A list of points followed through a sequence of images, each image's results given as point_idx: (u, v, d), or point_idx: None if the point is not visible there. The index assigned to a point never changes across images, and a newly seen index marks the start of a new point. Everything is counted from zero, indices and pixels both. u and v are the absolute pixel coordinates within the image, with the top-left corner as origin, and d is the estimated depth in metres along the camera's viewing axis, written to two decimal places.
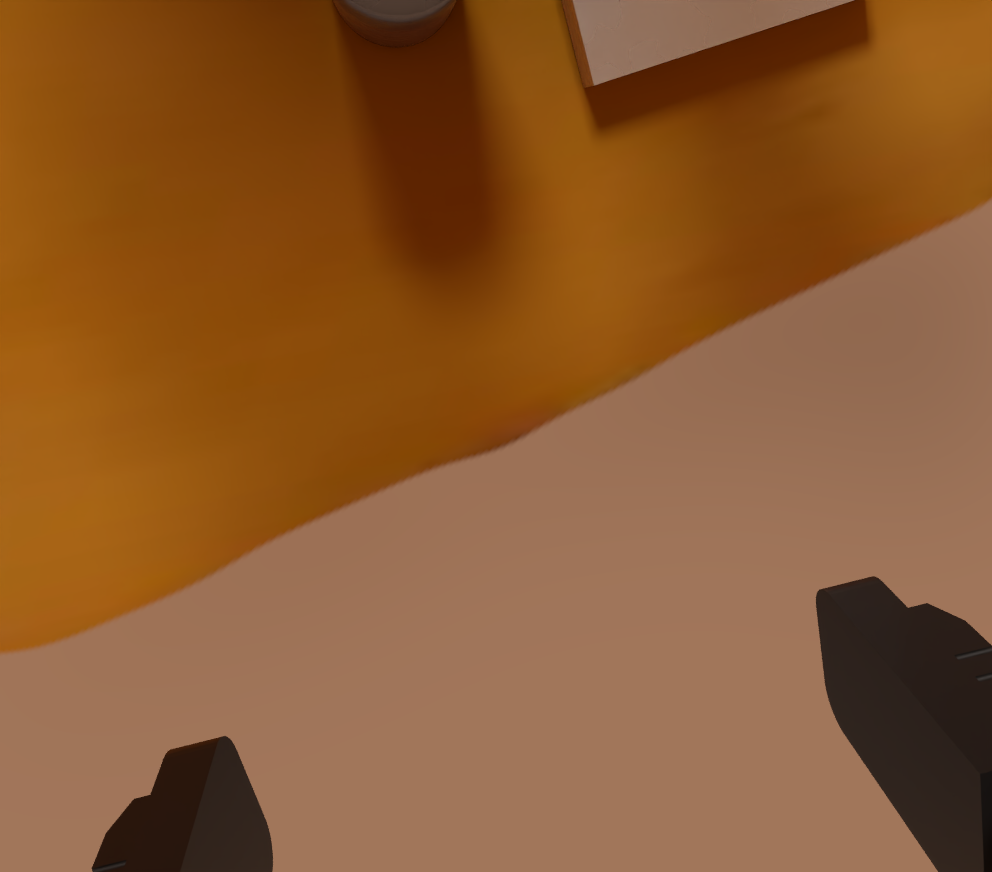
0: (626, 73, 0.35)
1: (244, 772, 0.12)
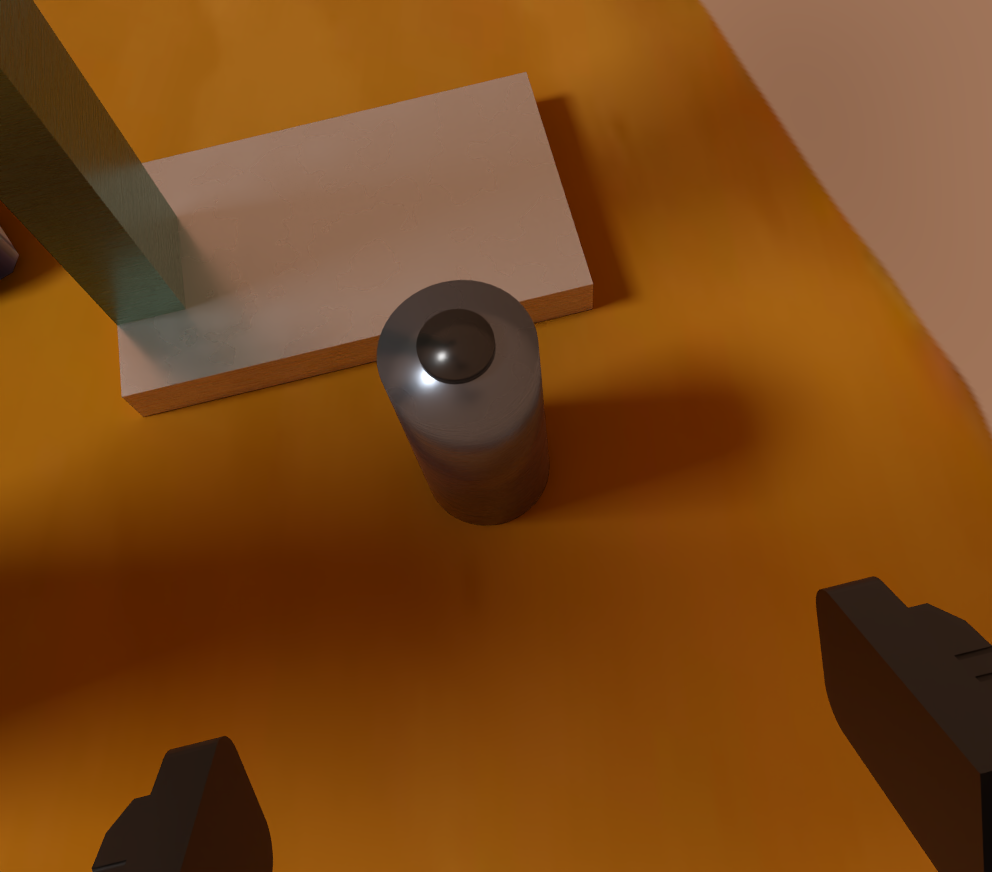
0: (583, 258, 0.38)
1: (244, 772, 0.12)
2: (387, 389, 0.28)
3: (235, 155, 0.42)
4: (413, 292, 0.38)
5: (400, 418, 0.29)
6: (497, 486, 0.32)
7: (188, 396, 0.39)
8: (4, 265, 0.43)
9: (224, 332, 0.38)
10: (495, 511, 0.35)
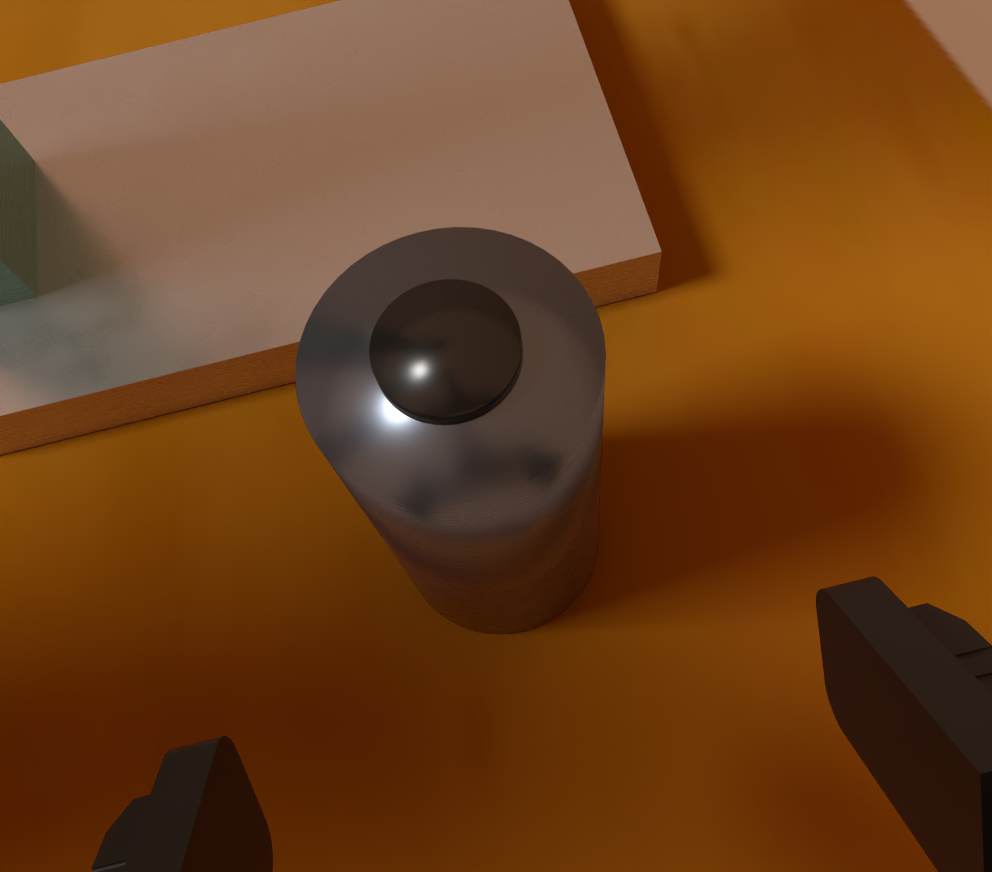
0: (645, 212, 0.25)
1: (244, 772, 0.12)
2: (314, 435, 0.14)
3: (124, 73, 0.29)
4: None
5: (345, 485, 0.16)
6: (521, 588, 0.19)
7: (40, 430, 0.25)
8: None
9: (94, 331, 0.25)
10: (515, 618, 0.21)
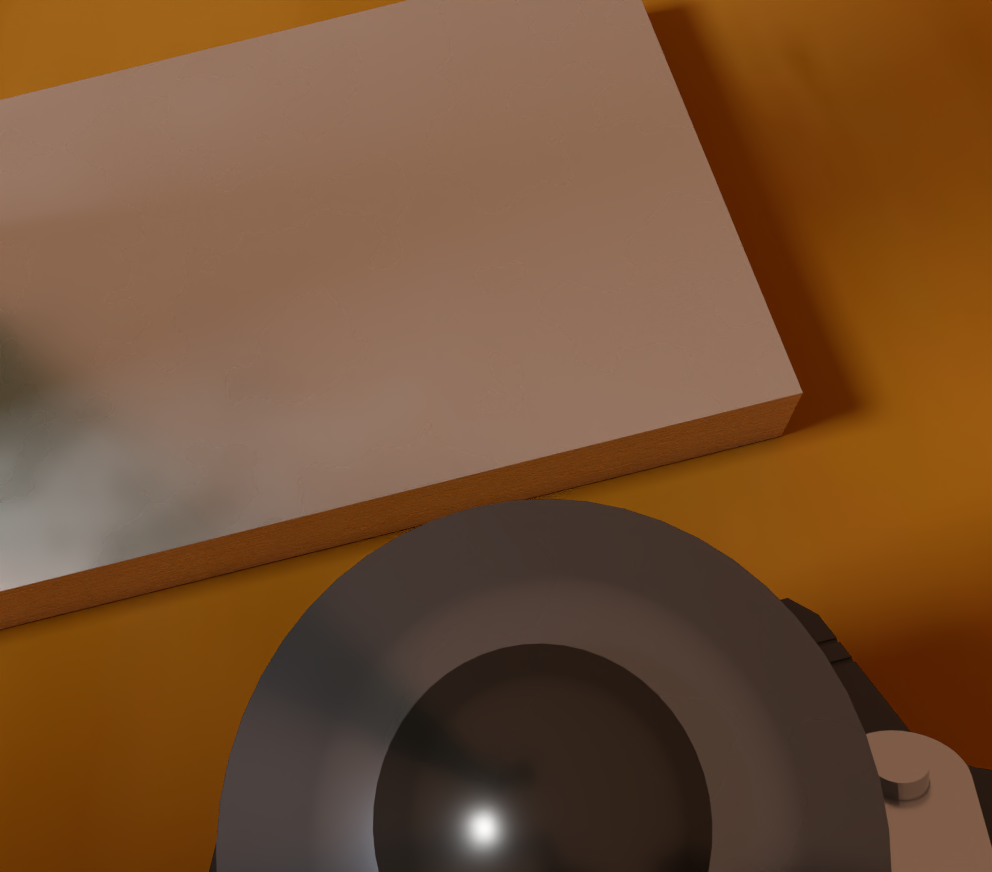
0: (775, 331, 0.17)
1: None
2: None
3: (38, 118, 0.21)
4: (394, 410, 0.17)
5: None
6: None
7: None
8: None
9: None
10: None
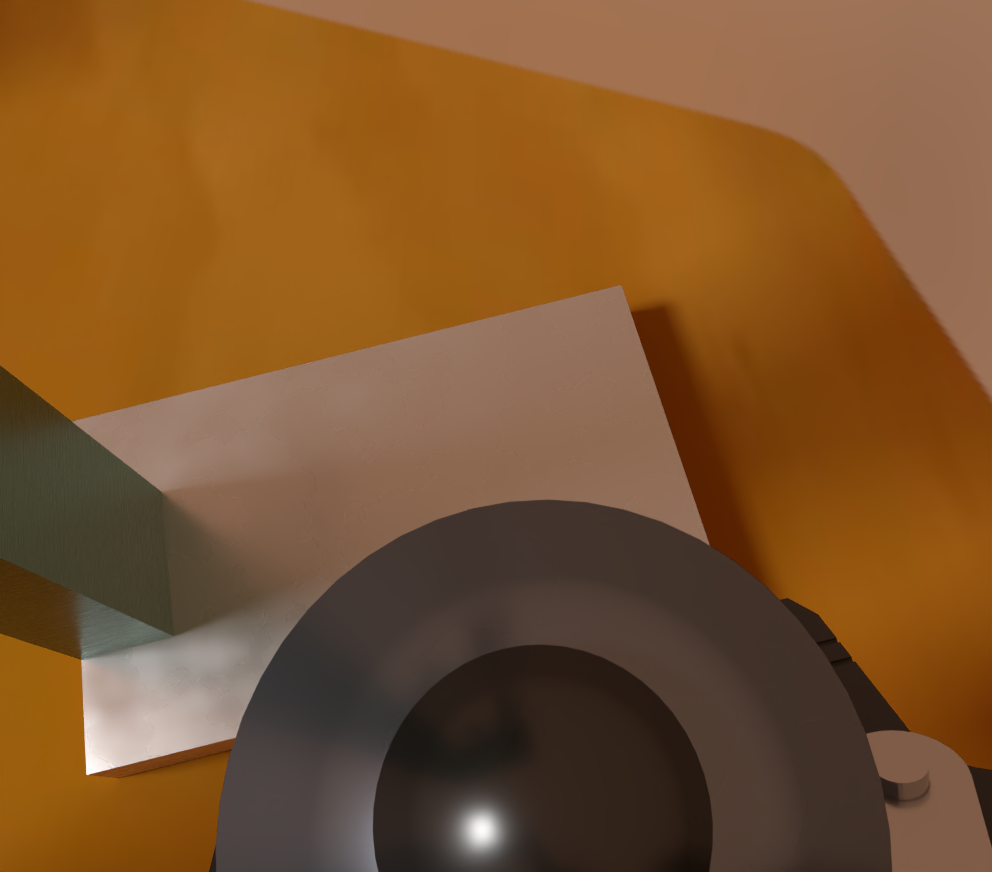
0: None
1: None
2: None
3: (238, 402, 0.32)
4: None
5: None
6: None
7: (178, 759, 0.29)
8: None
9: (226, 674, 0.28)
10: None
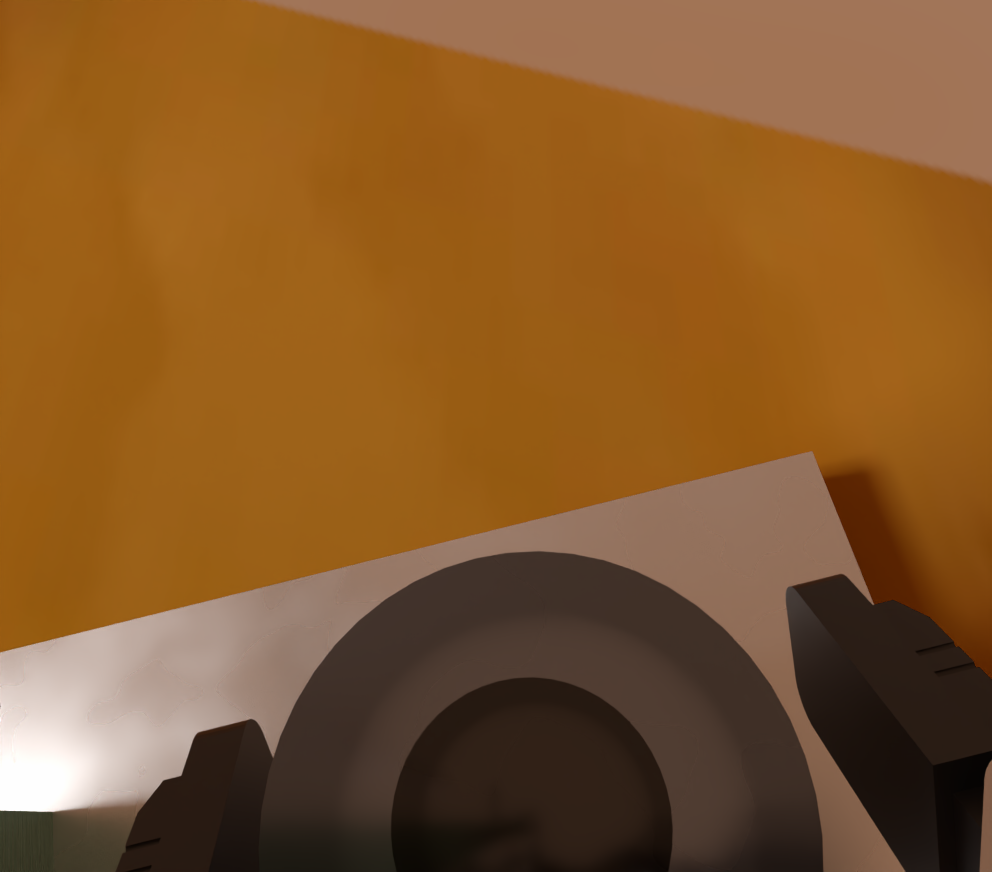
0: None
1: (270, 754, 0.12)
2: None
3: (185, 647, 0.19)
4: None
5: None
6: None
7: None
8: None
9: None
10: None
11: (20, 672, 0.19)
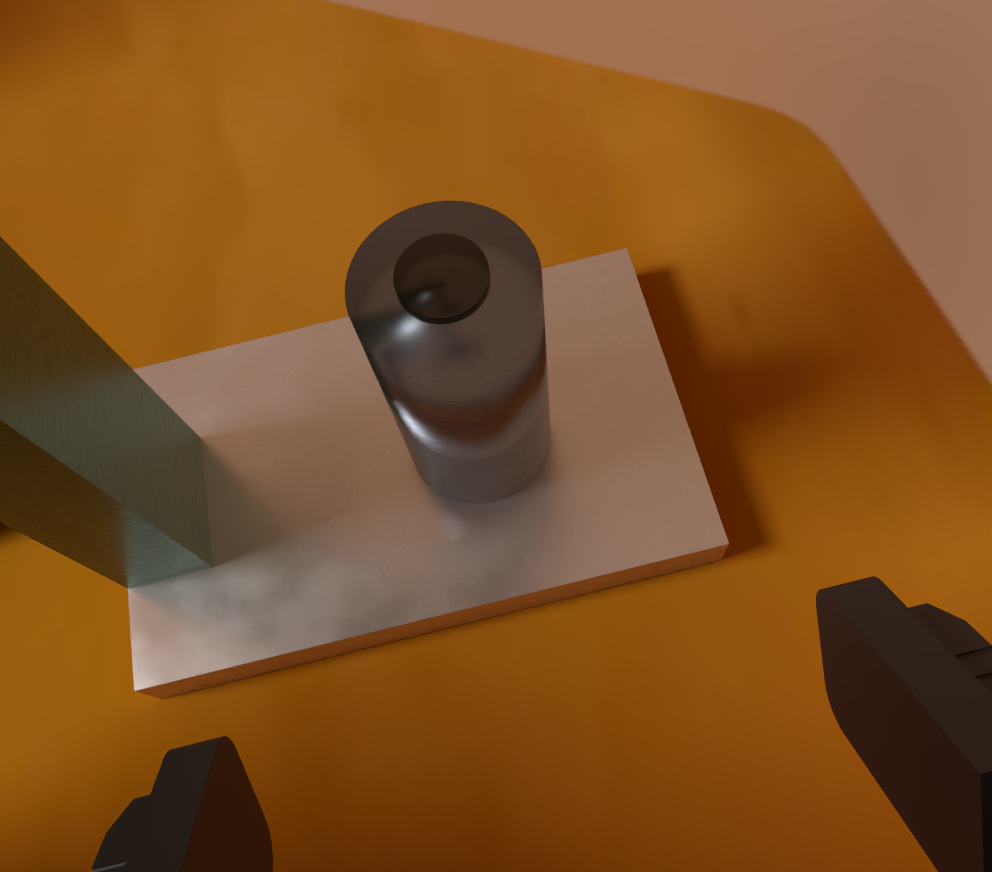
0: (714, 506, 0.30)
1: (244, 772, 0.12)
2: (357, 330, 0.23)
3: (270, 356, 0.34)
4: (500, 550, 0.30)
5: (374, 369, 0.24)
6: (491, 454, 0.27)
7: (216, 679, 0.31)
8: None
9: (262, 601, 0.31)
10: (489, 486, 0.30)
11: (177, 371, 0.34)
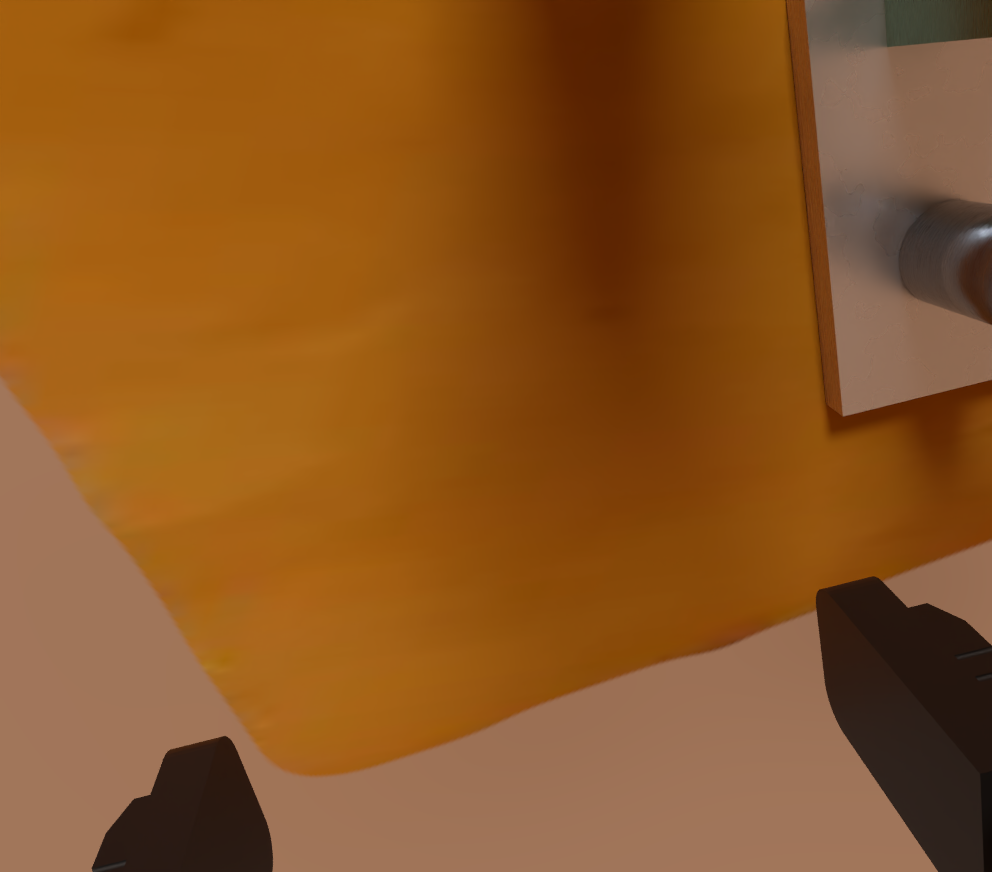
0: (868, 409, 0.47)
1: (244, 772, 0.12)
2: None
3: None
4: (863, 269, 0.44)
5: None
6: (947, 287, 0.40)
7: (797, 50, 0.41)
8: None
9: (854, 91, 0.41)
10: (915, 271, 0.43)
11: None
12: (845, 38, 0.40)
